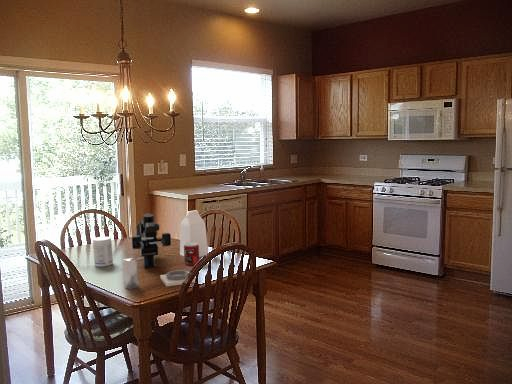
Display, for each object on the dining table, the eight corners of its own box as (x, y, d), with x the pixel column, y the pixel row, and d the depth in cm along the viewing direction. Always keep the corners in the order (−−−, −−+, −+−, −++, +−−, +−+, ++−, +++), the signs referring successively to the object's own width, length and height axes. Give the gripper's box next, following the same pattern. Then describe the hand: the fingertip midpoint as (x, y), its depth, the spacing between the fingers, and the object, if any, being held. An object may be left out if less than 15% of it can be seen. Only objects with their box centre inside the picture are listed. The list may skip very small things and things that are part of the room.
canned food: (181, 263, 254) (180, 244, 253) (193, 260, 260) (192, 241, 258) (190, 266, 249) (189, 246, 247) (202, 263, 254) (201, 243, 253)
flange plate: (160, 278, 230) (159, 271, 229) (188, 274, 235) (187, 267, 235) (166, 286, 217) (166, 279, 216) (195, 282, 222) (195, 275, 222)
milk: (190, 258, 264) (188, 213, 261) (180, 254, 273) (178, 210, 269) (208, 255, 271) (206, 210, 268) (197, 251, 280) (196, 208, 277)
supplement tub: (107, 261, 262) (106, 235, 260) (116, 264, 255) (114, 238, 254) (91, 264, 255) (89, 238, 253) (99, 268, 249) (97, 241, 247)
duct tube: (123, 285, 219) (122, 258, 217) (136, 284, 221) (135, 257, 220) (125, 289, 213) (123, 262, 212) (138, 287, 216) (137, 260, 214)
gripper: (130, 222, 234) (132, 232, 219) (167, 219, 239) (172, 229, 225) (131, 243, 236) (133, 254, 222) (168, 239, 242) (173, 250, 228)
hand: (153, 246), depth 224 cm, fingers open, 9 cm apart
